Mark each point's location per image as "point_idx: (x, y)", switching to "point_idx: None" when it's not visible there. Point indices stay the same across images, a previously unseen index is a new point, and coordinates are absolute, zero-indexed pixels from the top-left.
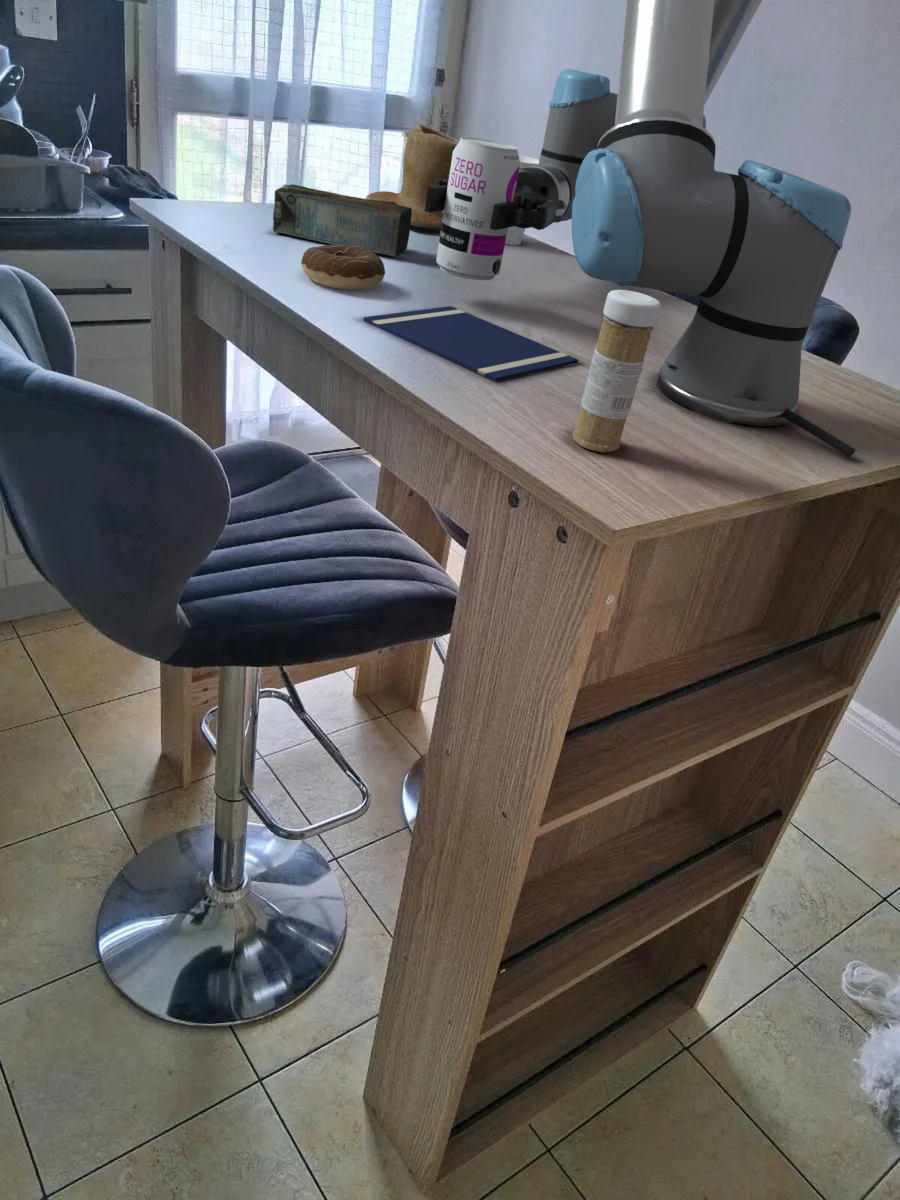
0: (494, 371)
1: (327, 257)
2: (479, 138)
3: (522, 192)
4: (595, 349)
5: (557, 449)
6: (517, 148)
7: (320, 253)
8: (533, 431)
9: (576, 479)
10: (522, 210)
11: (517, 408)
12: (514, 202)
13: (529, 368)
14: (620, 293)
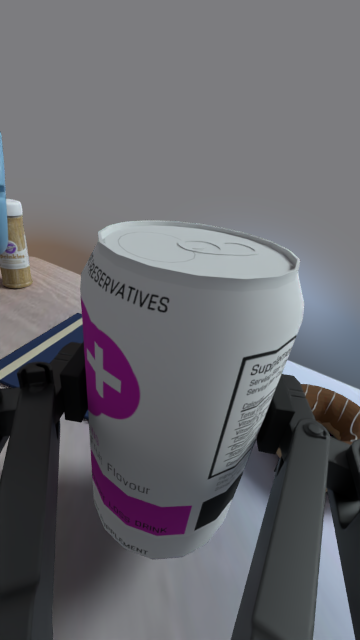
0: (79, 319)
1: (312, 385)
2: (283, 274)
3: (34, 612)
4: (24, 234)
5: (43, 277)
6: (100, 239)
7: (329, 391)
8: (54, 284)
9: (38, 267)
10: (56, 365)
11: (62, 296)
12: (81, 354)
13: (48, 332)
14: (12, 201)
